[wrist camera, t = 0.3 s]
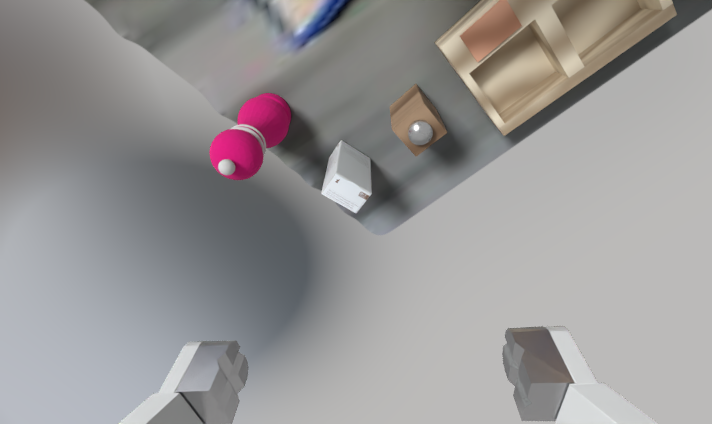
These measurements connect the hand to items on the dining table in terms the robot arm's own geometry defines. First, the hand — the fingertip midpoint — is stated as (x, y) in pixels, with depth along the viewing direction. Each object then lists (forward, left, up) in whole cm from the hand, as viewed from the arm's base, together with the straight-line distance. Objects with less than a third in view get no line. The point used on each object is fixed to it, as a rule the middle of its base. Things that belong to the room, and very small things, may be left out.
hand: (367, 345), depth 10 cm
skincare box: (+15, -4, -46) cm, 49 cm away
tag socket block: (-3, +22, -46) cm, 51 cm away
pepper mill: (+7, -16, -46) cm, 49 cm away
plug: (+7, +6, -46) cm, 47 cm away
